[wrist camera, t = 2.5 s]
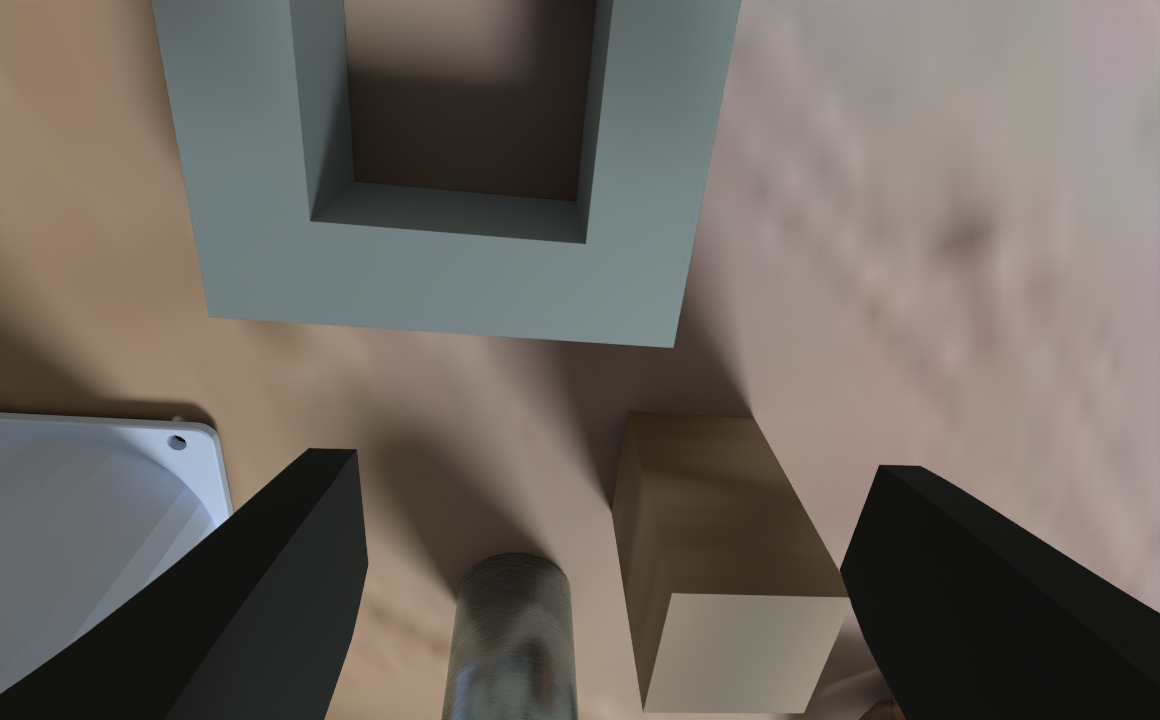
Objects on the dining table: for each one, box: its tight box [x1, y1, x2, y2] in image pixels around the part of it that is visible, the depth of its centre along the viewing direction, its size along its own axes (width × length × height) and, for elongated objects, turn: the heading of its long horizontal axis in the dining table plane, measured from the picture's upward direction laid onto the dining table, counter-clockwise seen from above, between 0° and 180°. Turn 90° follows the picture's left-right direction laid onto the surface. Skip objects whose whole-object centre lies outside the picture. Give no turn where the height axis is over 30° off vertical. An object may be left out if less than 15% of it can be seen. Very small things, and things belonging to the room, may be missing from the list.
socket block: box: [151, 0, 741, 348], centre depth 13 cm, size 10×10×4 cm
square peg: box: [612, 411, 851, 713], centre depth 17 cm, size 4×4×7 cm
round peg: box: [442, 553, 579, 720], centre depth 20 cm, size 4×4×7 cm
